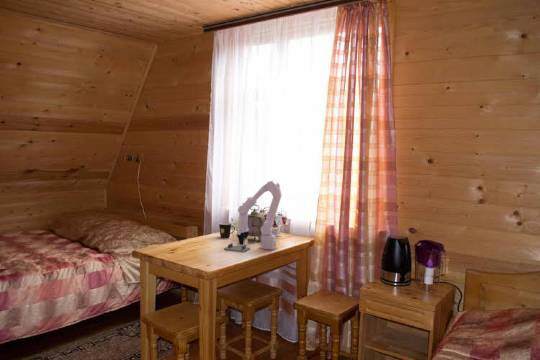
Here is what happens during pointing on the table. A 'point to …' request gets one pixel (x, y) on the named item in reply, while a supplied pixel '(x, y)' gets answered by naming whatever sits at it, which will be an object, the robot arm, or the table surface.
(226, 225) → the coffee mug
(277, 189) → the robot arm
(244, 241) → the connector plug
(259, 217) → the tabletop clock
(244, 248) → the board
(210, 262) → the table surface
